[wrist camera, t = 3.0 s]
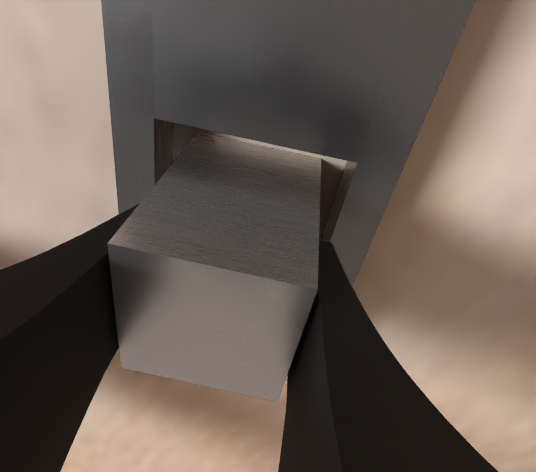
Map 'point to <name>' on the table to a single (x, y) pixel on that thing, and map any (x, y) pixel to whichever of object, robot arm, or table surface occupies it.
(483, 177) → the table surface
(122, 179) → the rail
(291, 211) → the grey rectangular block
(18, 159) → the table surface
